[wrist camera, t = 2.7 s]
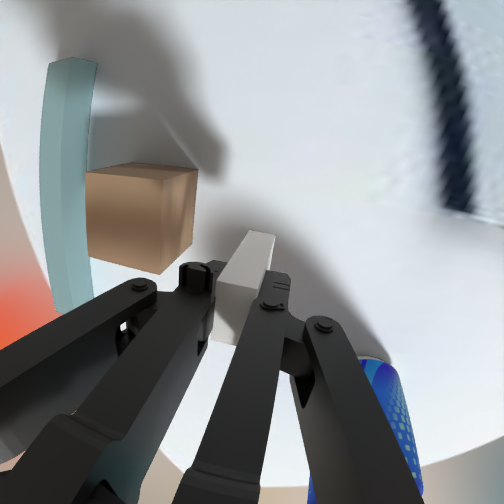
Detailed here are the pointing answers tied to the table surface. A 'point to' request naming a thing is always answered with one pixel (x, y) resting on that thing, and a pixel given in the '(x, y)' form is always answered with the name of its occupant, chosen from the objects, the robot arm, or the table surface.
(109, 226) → the block
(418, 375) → the table surface
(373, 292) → the table surface
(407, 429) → the beer can
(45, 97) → the board
